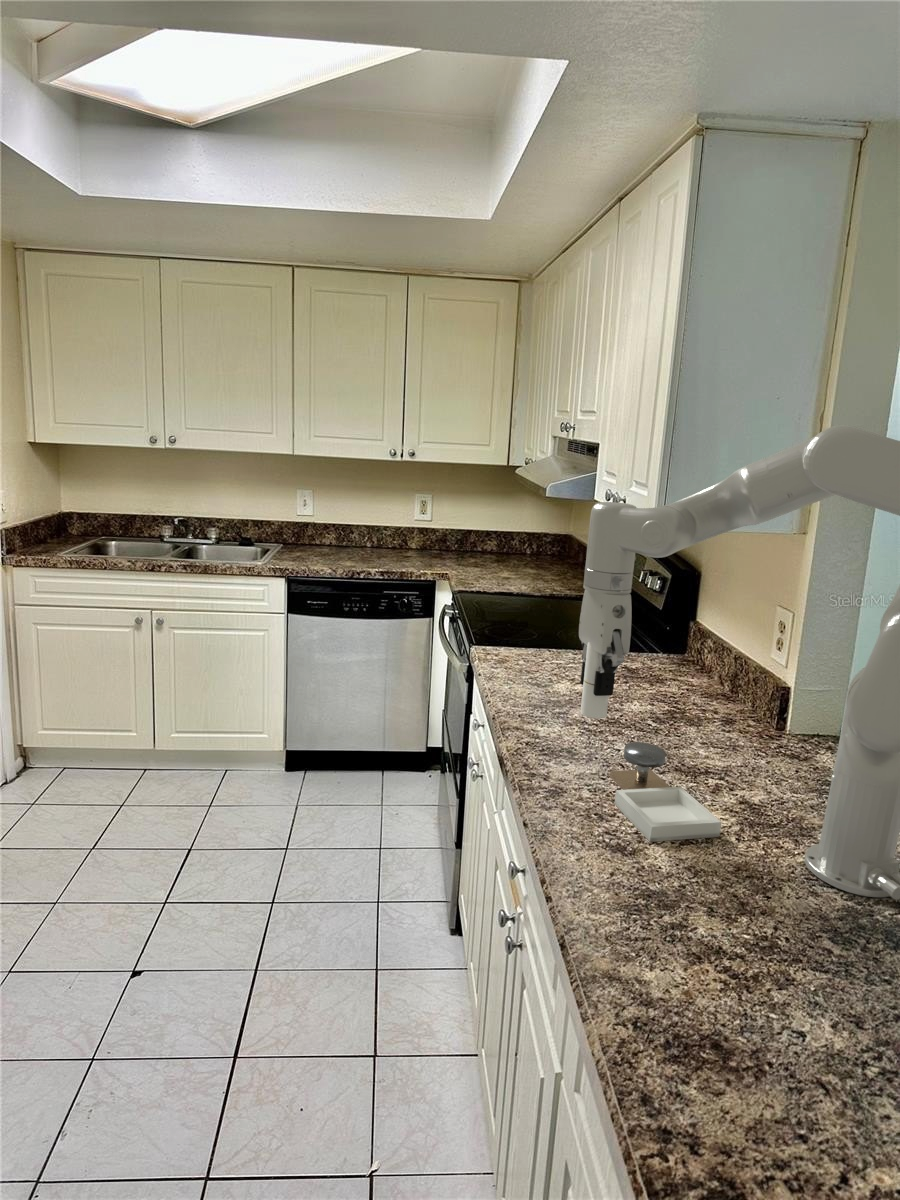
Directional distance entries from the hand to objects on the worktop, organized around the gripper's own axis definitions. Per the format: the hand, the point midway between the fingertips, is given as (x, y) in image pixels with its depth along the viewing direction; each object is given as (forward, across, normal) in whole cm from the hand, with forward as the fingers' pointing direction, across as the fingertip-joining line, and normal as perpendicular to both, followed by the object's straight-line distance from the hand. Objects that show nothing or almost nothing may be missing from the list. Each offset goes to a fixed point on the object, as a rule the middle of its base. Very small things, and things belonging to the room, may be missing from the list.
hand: (596, 688), depth 127 cm
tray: (+19, -10, -10) cm, 23 cm away
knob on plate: (+19, +2, -12) cm, 22 cm away
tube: (+5, 0, 0) cm, 5 cm away
